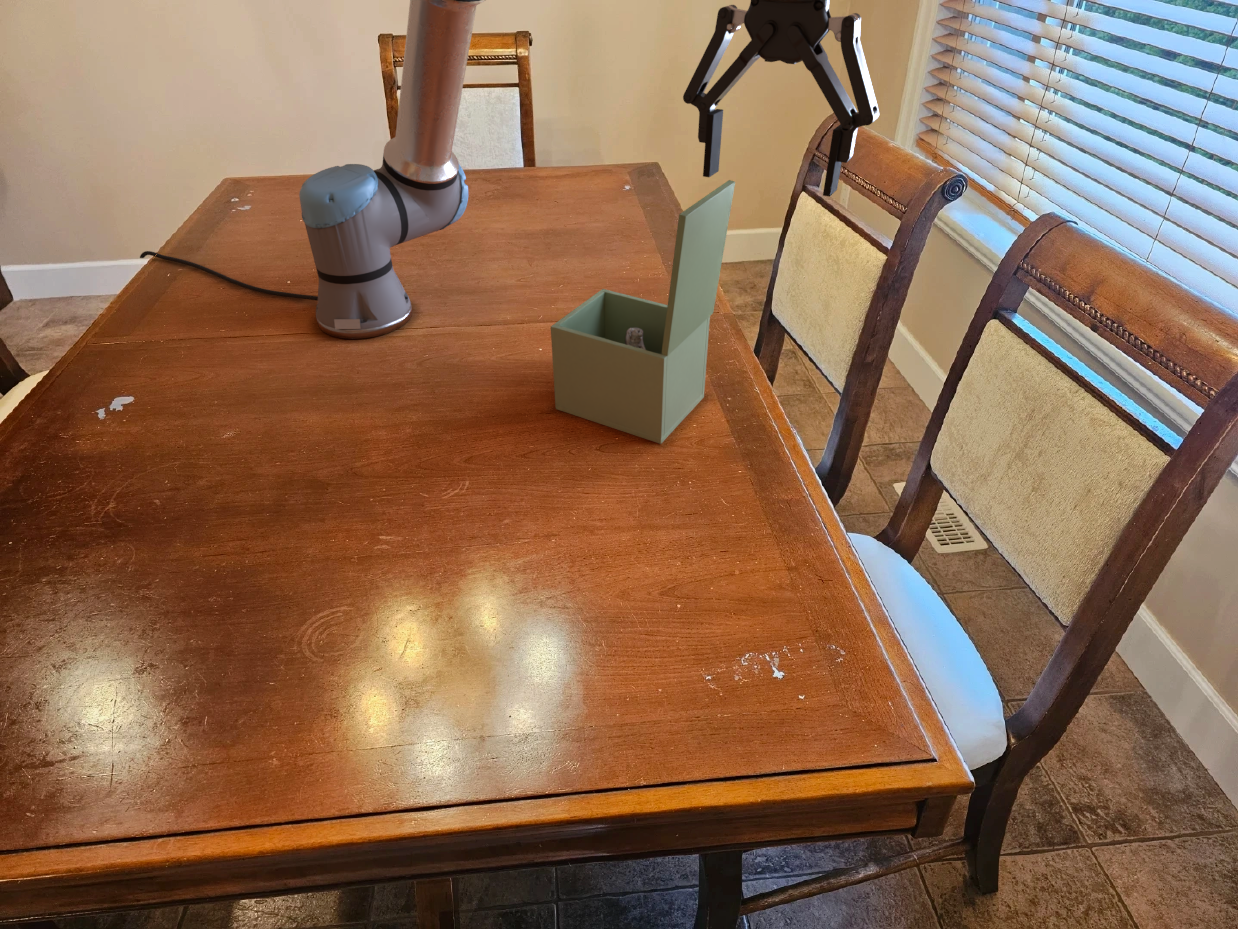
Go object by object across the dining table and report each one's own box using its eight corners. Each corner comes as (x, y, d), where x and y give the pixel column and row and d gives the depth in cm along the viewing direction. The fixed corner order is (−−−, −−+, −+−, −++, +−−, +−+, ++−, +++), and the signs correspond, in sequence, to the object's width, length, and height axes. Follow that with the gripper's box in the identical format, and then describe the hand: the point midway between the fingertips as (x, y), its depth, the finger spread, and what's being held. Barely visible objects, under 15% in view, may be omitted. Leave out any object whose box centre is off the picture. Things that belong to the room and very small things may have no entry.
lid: (678, 214, 85) (685, 216, 84) (729, 179, 94) (735, 181, 93) (661, 354, 96) (667, 356, 96) (707, 311, 105) (713, 313, 105)
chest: (555, 409, 110) (550, 326, 103) (604, 367, 119) (602, 288, 112) (660, 444, 104) (664, 358, 96) (704, 397, 113) (710, 315, 105)
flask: (650, 416, 107) (651, 346, 101) (628, 418, 107) (628, 348, 101) (641, 381, 115) (641, 313, 108) (621, 382, 114) (620, 315, 108)
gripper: (941, -47, 72) (892, 191, 84) (689, -57, 81) (678, 158, 94) (925, -42, 66) (875, 211, 79) (657, -53, 76) (650, 174, 88)
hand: (768, 183), depth 86 cm, fingers open, 13 cm apart
